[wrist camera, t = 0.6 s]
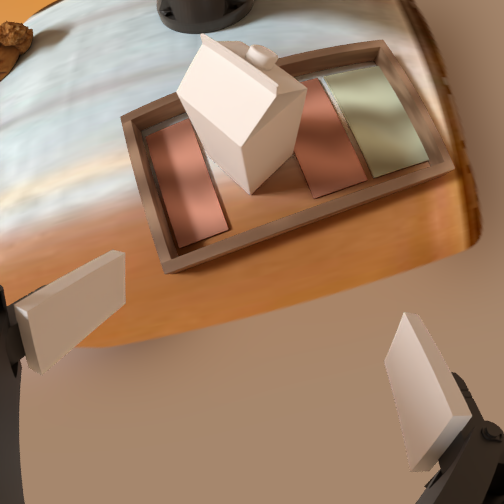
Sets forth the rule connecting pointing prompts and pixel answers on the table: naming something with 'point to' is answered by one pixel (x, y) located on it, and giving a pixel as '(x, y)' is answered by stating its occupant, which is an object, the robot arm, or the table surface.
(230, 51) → the milk carton
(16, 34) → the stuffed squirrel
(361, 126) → the box
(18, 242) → the table surface
